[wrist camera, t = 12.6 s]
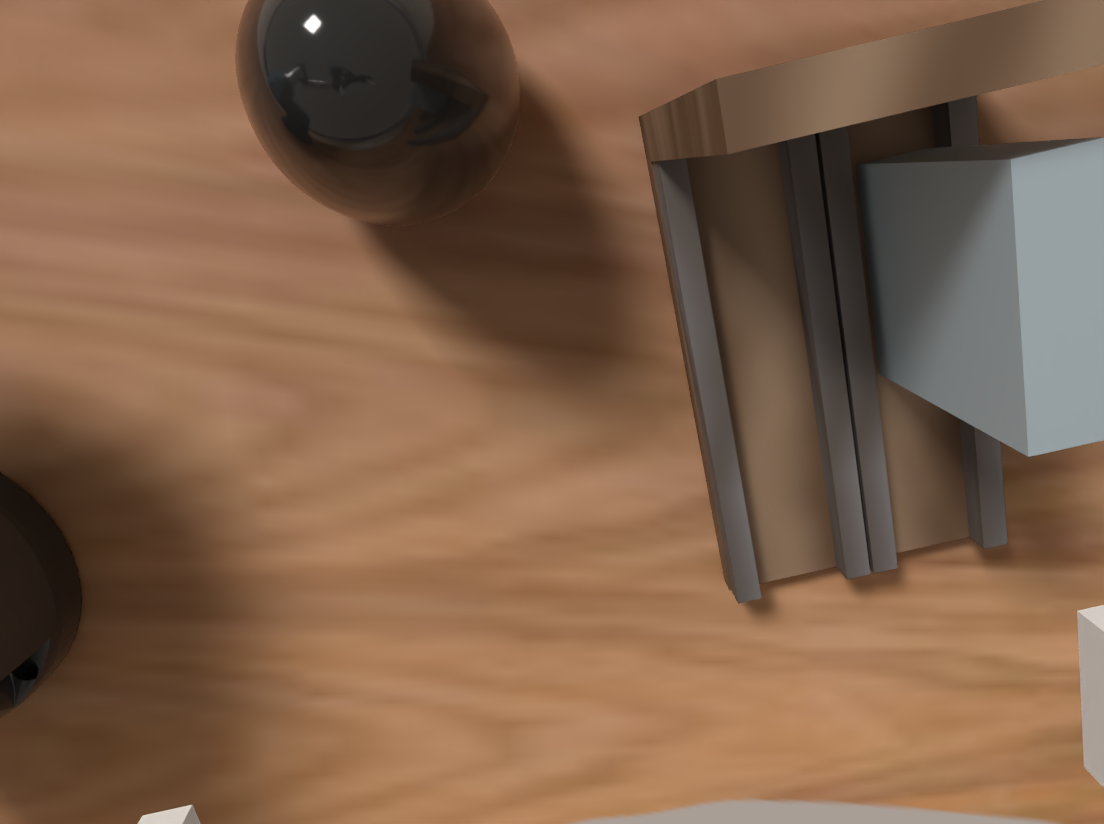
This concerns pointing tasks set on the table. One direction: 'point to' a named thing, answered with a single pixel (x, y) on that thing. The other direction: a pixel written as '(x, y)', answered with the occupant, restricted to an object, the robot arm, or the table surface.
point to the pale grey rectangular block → (993, 284)
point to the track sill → (828, 292)
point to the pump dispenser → (380, 101)
